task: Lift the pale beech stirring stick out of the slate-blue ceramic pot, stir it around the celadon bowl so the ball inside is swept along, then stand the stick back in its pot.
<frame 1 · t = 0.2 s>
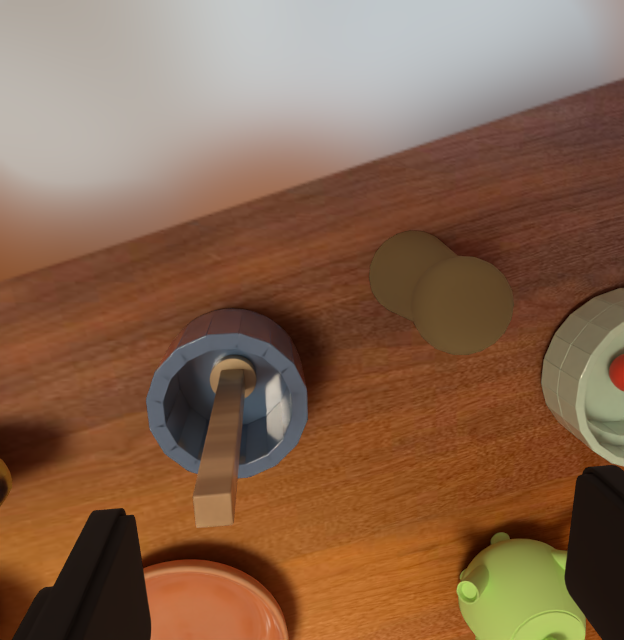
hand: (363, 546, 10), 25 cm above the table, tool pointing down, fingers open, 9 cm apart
pepper shaker: (410, 273, 35), on the table
bowl: (613, 362, 39), on the table
saucer: (191, 620, 42), on the table
teapot: (494, 563, 43), on the table
holder: (234, 372, 36), on the table
stick: (233, 375, 35), point 1 cm above the table, touching holder
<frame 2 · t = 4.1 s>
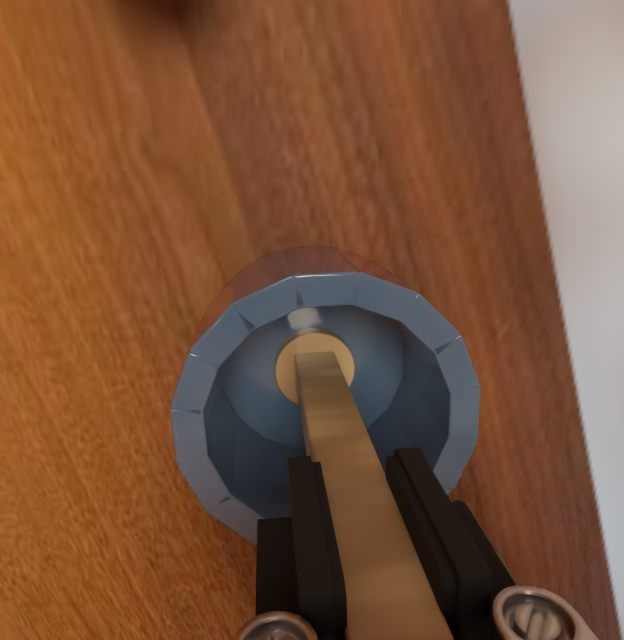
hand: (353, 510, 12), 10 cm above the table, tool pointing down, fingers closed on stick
holder: (311, 359, 21), on the table
stick: (313, 364, 21), point 1 cm above the table, touching gripper, holder
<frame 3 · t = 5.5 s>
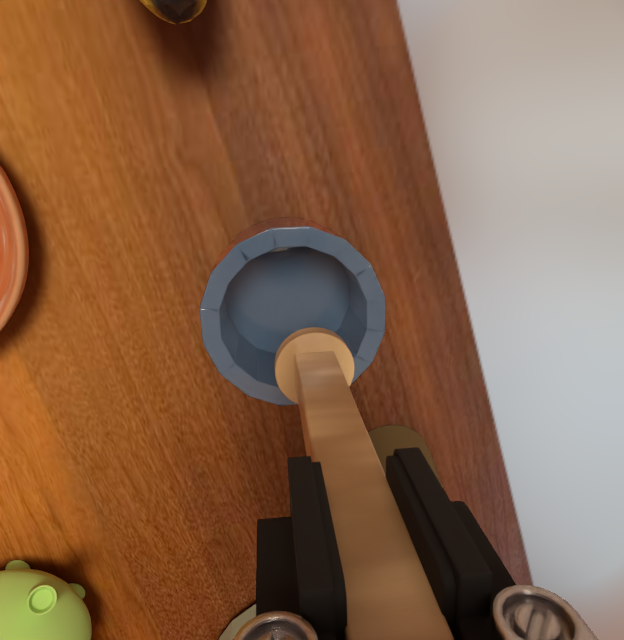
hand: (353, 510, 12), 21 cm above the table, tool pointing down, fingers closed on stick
pepper shaker: (388, 461, 36), on the table
teapot: (38, 592, 36), on the table
holder: (287, 294, 32), on the table
stick: (313, 363, 21), point 12 cm above the table, touching gripper
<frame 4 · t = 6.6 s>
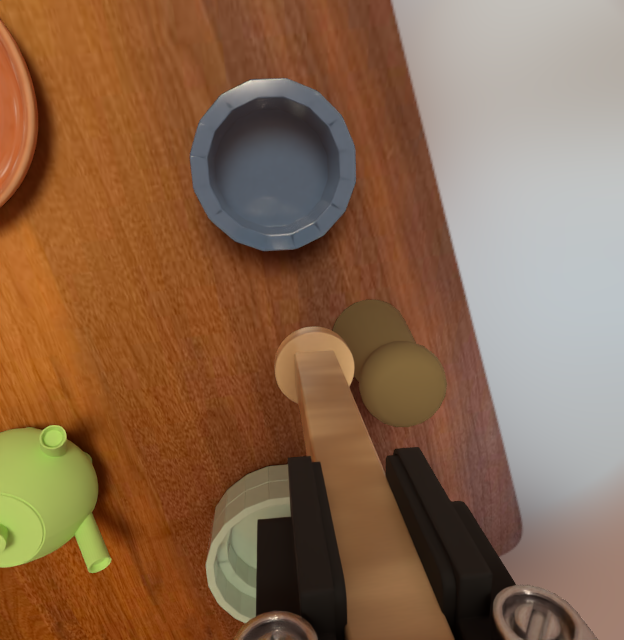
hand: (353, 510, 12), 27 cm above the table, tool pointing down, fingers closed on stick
pepper shaker: (369, 336, 39), on the table
bowl: (284, 523, 43), on the table
teapot: (49, 460, 39), on the table
holder: (272, 170, 35), on the table
stick: (313, 363, 21), point 17 cm above the table, touching gripper
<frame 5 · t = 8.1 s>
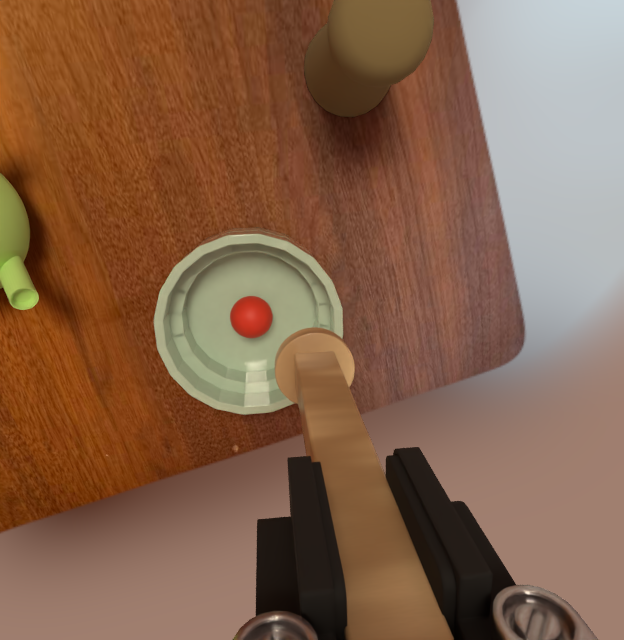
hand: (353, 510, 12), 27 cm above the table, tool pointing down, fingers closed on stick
pepper shaker: (348, 69, 34), on the table
bowl: (252, 309, 37), on the table
ball: (251, 317, 35), point 2 cm above the table, touching bowl
stick: (313, 364, 21), point 17 cm above the table, touching gripper
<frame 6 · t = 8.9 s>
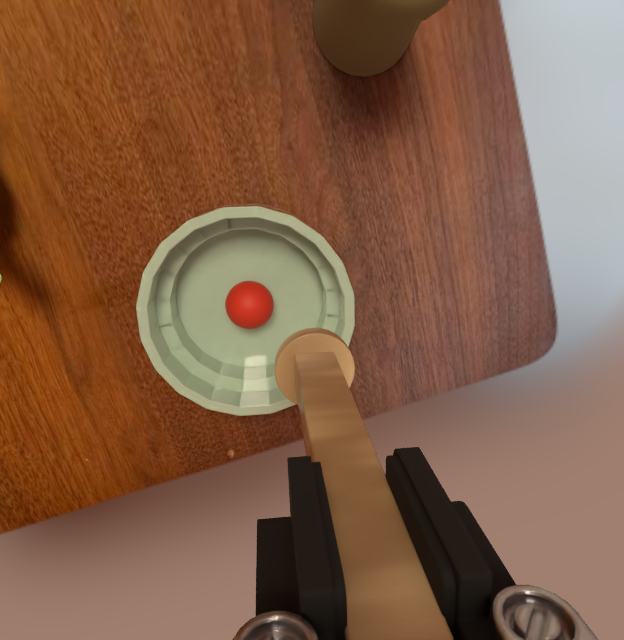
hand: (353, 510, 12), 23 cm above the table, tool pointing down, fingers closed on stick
pepper shaker: (363, 21, 29), on the table
bowl: (250, 297, 33), on the table
ball: (249, 304, 31), point 2 cm above the table, touching bowl
stick: (313, 364, 21), point 13 cm above the table, touching gripper
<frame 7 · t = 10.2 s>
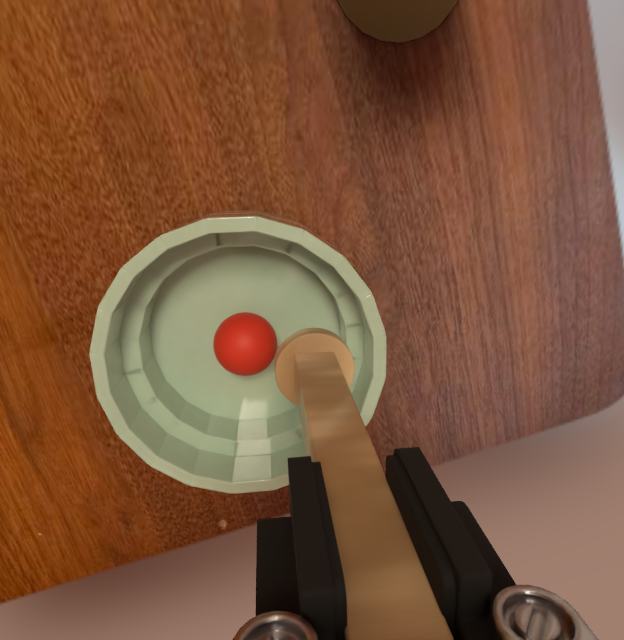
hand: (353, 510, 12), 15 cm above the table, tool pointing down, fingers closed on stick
bowl: (247, 331, 26), on the table
ball: (245, 343, 24), point 2 cm above the table, touching bowl
stick: (313, 364, 21), point 5 cm above the table, touching gripper
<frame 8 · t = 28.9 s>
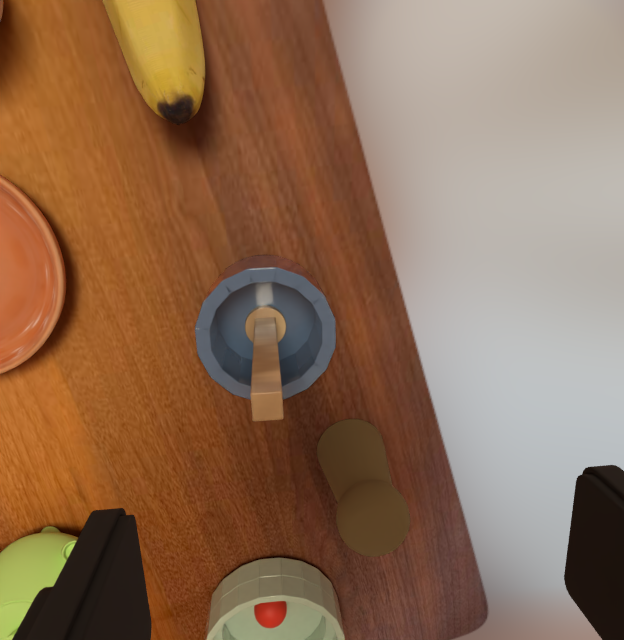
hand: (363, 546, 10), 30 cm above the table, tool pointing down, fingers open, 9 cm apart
pepper shaker: (350, 448, 44), on the table
bowl: (273, 606, 48), on the table
ball: (270, 609, 45), point 2 cm above the table, tilted 96°, touching bowl
teapot: (66, 553, 44), on the table
holder: (266, 314, 40), on the table
stick: (265, 324, 40), point 1 cm above the table, touching holder
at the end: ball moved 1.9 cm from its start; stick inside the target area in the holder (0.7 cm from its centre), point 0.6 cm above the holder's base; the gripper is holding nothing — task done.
